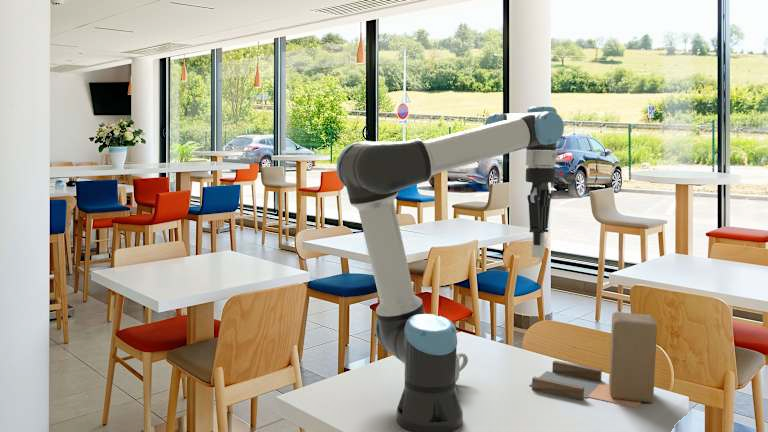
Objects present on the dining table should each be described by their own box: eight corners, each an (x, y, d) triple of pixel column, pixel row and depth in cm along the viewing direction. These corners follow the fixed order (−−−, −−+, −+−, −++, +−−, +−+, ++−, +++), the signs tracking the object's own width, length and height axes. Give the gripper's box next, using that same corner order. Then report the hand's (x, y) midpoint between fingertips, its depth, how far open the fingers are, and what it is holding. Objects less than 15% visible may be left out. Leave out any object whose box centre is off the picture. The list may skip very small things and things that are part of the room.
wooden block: (649, 389, 171) (653, 314, 169) (653, 404, 162) (657, 324, 160) (608, 385, 174) (612, 310, 172) (610, 399, 165) (613, 320, 162)
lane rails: (582, 400, 164) (582, 388, 164) (531, 389, 171) (532, 378, 171) (601, 380, 178) (601, 369, 178) (554, 370, 186) (554, 360, 185)
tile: (637, 408, 160) (637, 407, 160) (587, 397, 167) (587, 396, 167) (647, 393, 169) (647, 393, 169) (600, 384, 176) (600, 383, 176)
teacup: (426, 394, 168) (426, 363, 167) (412, 379, 178) (413, 350, 177) (477, 389, 171) (477, 359, 171) (461, 375, 182) (461, 346, 181)
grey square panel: (586, 398, 166) (586, 397, 166) (529, 385, 174) (529, 385, 174) (601, 382, 177) (601, 382, 176) (546, 371, 185) (546, 371, 185)
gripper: (547, 167, 165) (544, 261, 167) (562, 167, 176) (559, 255, 178) (518, 167, 169) (515, 259, 171) (534, 166, 180) (532, 252, 182)
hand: (538, 257), depth 174 cm, fingers closed
